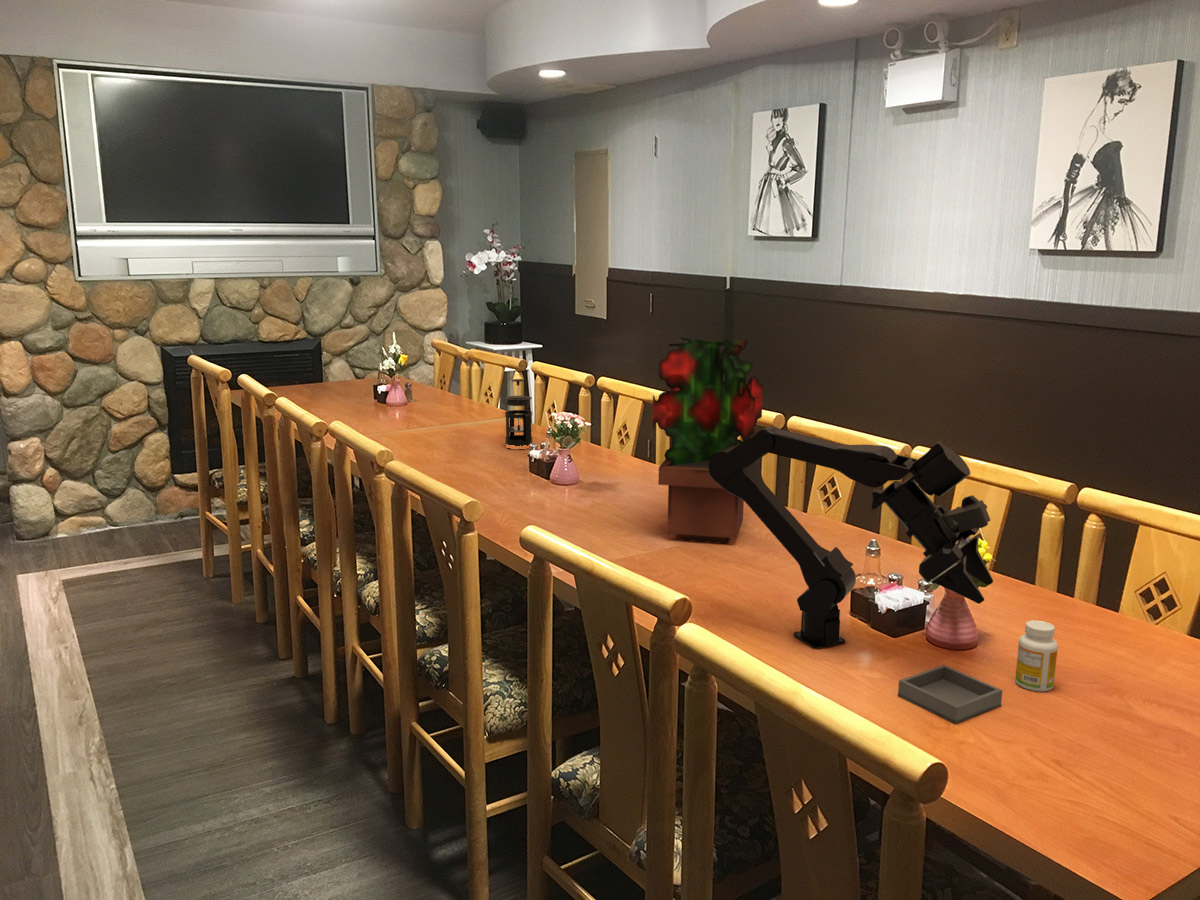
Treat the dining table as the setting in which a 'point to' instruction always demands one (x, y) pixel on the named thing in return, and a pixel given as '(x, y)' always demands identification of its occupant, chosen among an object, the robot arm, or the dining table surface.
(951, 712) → the charcoal tray
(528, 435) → the french press
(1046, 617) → the dining table surface
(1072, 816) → the dining table surface
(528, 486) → the dining table surface
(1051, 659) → the supplement bottle
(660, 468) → the potted plant
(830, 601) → the robot arm
